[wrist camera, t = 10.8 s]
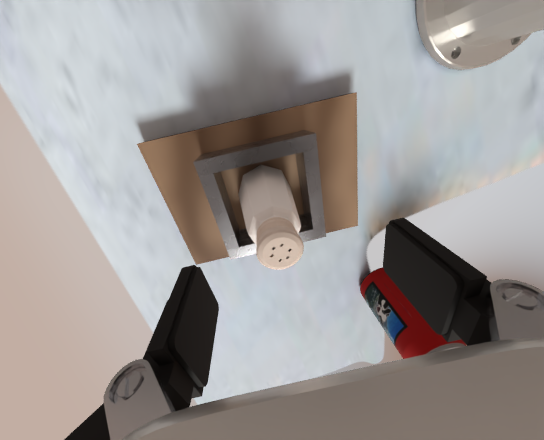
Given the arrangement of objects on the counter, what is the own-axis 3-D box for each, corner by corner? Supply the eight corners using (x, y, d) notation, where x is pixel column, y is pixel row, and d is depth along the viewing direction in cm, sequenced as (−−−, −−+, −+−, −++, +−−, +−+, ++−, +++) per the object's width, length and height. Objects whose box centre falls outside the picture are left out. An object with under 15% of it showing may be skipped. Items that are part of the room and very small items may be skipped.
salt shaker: (227, 195, 21) (213, 263, 12) (259, 152, 20) (274, 189, 10) (268, 222, 23) (285, 299, 14) (300, 185, 22) (345, 243, 12)
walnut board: (348, 93, 20) (356, 92, 18) (352, 219, 26) (357, 225, 25) (144, 142, 20) (136, 144, 18) (198, 256, 26) (196, 264, 25)
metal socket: (304, 129, 19) (315, 133, 16) (315, 220, 24) (326, 236, 21) (201, 154, 19) (193, 162, 16) (232, 240, 24) (230, 259, 21)
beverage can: (349, 280, 31) (403, 366, 21) (389, 255, 30) (468, 332, 19) (369, 302, 34) (425, 387, 24) (406, 279, 33) (483, 359, 22)
